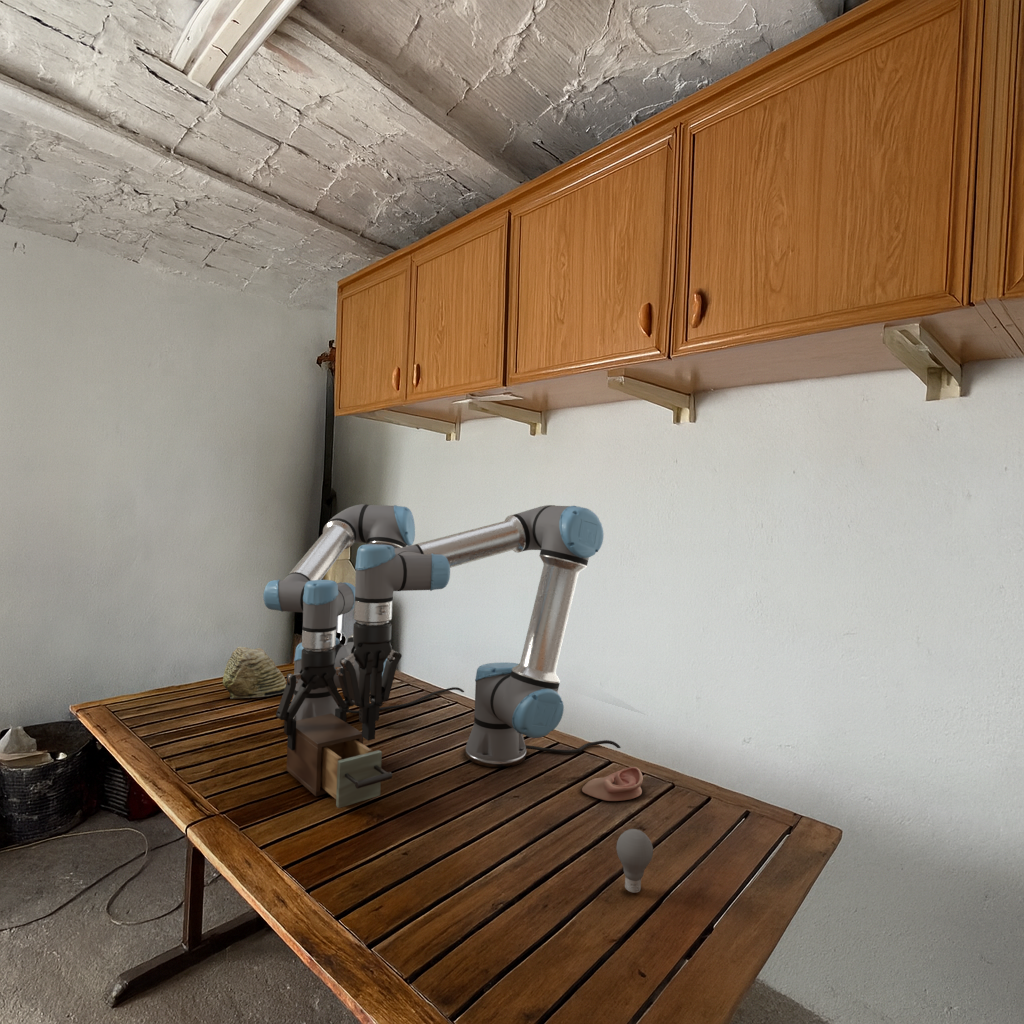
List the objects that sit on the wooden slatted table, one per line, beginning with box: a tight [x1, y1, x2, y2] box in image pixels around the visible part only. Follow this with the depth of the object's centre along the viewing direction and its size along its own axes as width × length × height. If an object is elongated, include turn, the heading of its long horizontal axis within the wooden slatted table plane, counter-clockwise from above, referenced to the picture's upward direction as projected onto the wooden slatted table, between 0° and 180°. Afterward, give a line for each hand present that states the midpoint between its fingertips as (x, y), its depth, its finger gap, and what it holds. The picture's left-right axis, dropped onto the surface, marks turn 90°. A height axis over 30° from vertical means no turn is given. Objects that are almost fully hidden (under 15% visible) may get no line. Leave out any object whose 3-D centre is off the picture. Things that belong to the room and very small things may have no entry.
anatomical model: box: [581, 766, 644, 802], centre depth 142 cm, size 13×4×12 cm
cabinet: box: [286, 714, 364, 797], centre depth 143 cm, size 16×11×11 cm, turn 41°
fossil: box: [222, 646, 287, 699], centre depth 198 cm, size 9×18×15 cm, turn 132°
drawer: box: [320, 739, 393, 809], centre depth 133 cm, size 21×9×9 cm, turn 41°
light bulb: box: [615, 828, 654, 894], centre depth 106 cm, size 6×6×10 cm
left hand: (315, 742), depth 147 cm, fingers closed on cabinet, 11 cm apart
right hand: (368, 737), depth 128 cm, fingers closed
